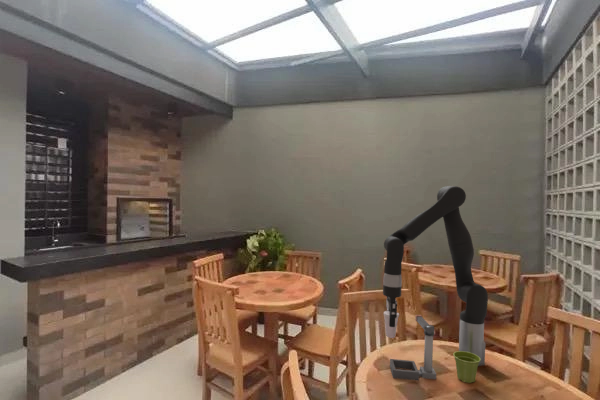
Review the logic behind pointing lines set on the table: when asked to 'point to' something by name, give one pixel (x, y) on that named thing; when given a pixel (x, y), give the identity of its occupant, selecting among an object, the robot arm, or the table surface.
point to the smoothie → (389, 330)
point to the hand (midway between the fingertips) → (390, 323)
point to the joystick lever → (425, 325)
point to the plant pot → (466, 365)
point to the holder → (415, 373)
